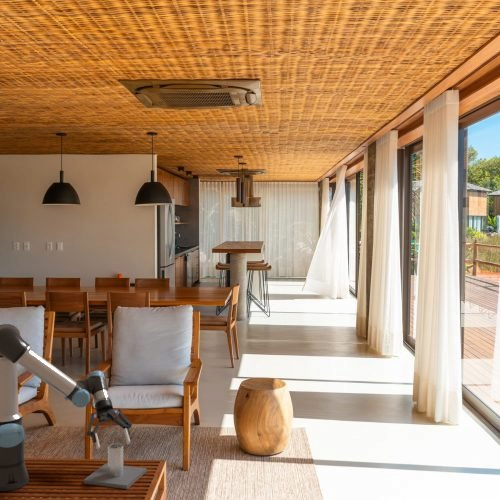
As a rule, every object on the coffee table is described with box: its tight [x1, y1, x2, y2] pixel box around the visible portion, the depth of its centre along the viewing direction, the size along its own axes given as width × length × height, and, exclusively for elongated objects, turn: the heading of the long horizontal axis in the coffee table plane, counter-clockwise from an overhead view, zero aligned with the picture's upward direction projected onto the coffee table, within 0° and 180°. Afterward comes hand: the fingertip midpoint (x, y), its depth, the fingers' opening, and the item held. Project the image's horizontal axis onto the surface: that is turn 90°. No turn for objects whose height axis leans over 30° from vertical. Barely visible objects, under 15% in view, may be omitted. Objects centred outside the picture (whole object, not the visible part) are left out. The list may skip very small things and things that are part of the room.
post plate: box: [83, 463, 148, 490], centre depth 242 cm, size 20×18×10 cm
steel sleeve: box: [107, 443, 124, 477], centre depth 242 cm, size 6×6×12 cm
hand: (113, 445), depth 246 cm, fingers open, 13 cm apart
